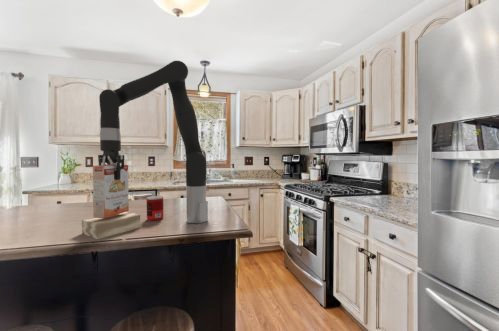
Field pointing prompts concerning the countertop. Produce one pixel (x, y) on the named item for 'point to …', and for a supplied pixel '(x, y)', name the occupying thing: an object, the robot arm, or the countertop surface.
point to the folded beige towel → (110, 225)
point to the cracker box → (109, 191)
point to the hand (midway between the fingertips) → (111, 179)
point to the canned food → (154, 208)
